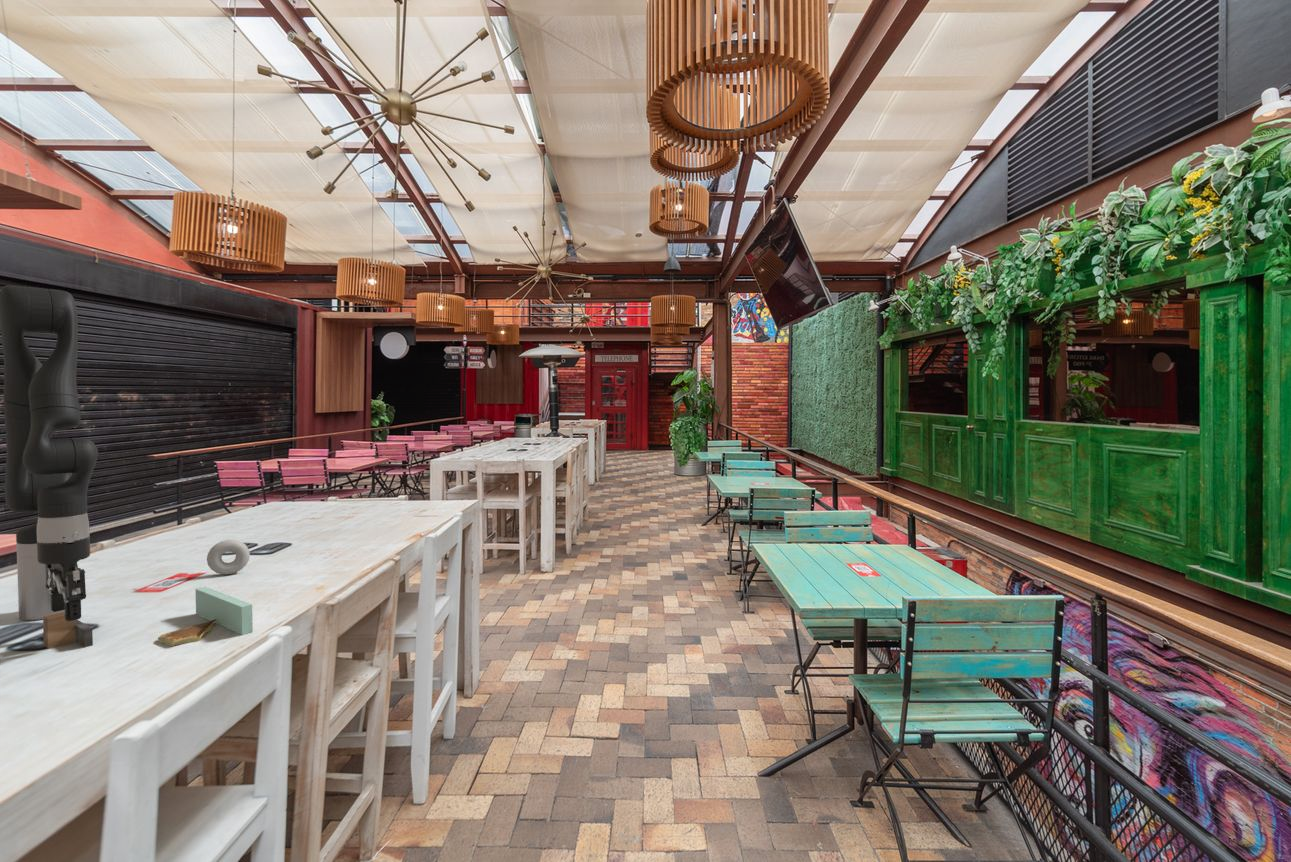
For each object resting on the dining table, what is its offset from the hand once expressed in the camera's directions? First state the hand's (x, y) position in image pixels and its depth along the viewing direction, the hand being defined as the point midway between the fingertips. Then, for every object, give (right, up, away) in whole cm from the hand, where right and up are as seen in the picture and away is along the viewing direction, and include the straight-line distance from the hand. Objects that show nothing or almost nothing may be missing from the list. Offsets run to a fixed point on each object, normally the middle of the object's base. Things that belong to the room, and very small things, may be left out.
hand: (66, 615), depth 117 cm
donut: (-1, -4, +47) cm, 48 cm away
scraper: (0, -6, -1) cm, 6 cm away
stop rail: (+24, -5, +11) cm, 27 cm away
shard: (+21, -6, +4) cm, 22 cm away
